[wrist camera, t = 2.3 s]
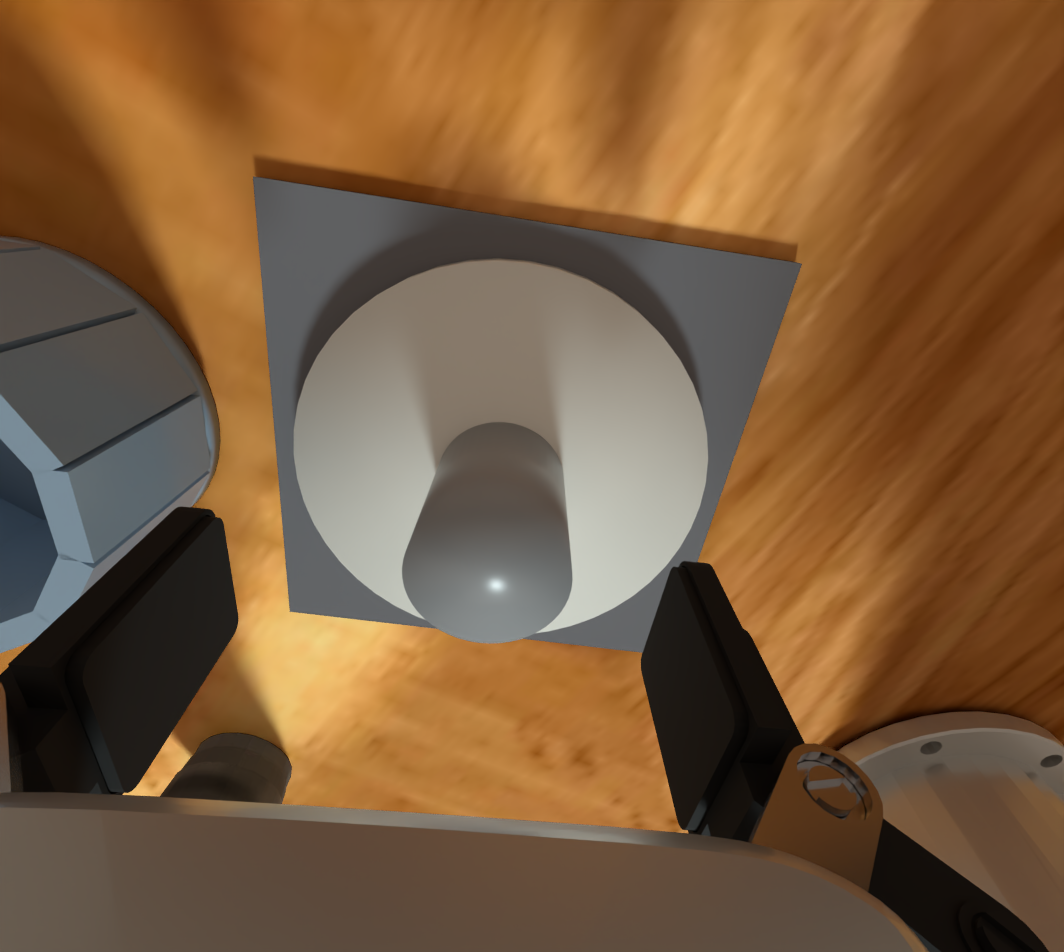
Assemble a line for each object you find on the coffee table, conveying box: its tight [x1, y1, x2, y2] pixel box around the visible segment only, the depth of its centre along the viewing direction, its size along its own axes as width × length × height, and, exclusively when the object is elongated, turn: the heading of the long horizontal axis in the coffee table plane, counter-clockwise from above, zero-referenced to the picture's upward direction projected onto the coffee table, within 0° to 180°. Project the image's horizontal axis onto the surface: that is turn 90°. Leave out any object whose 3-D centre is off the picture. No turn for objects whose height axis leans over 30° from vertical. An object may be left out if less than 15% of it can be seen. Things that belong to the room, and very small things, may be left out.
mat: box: [253, 177, 802, 653], centre depth 18 cm, size 15×15×1 cm
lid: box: [294, 258, 708, 643], centre depth 15 cm, size 13×13×6 cm
